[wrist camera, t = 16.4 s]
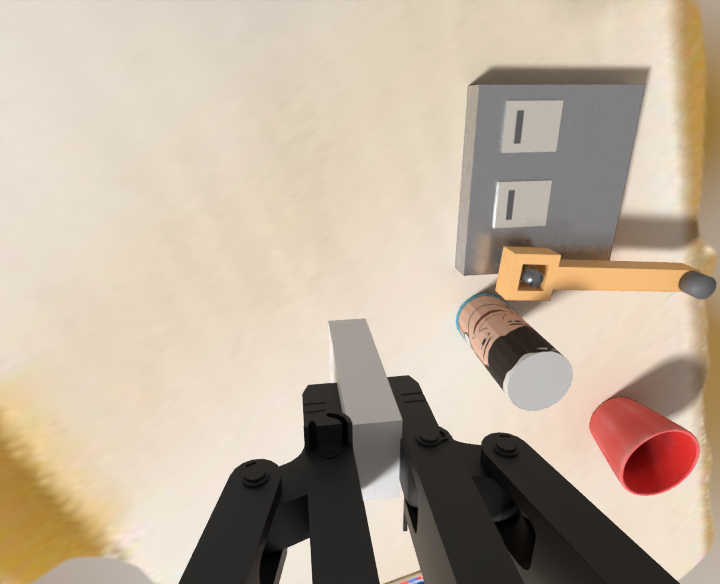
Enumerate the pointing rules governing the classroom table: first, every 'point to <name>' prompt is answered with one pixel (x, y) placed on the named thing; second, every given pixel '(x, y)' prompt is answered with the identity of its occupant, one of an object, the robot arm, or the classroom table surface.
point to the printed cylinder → (514, 353)
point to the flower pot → (643, 446)
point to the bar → (594, 275)
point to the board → (543, 171)
